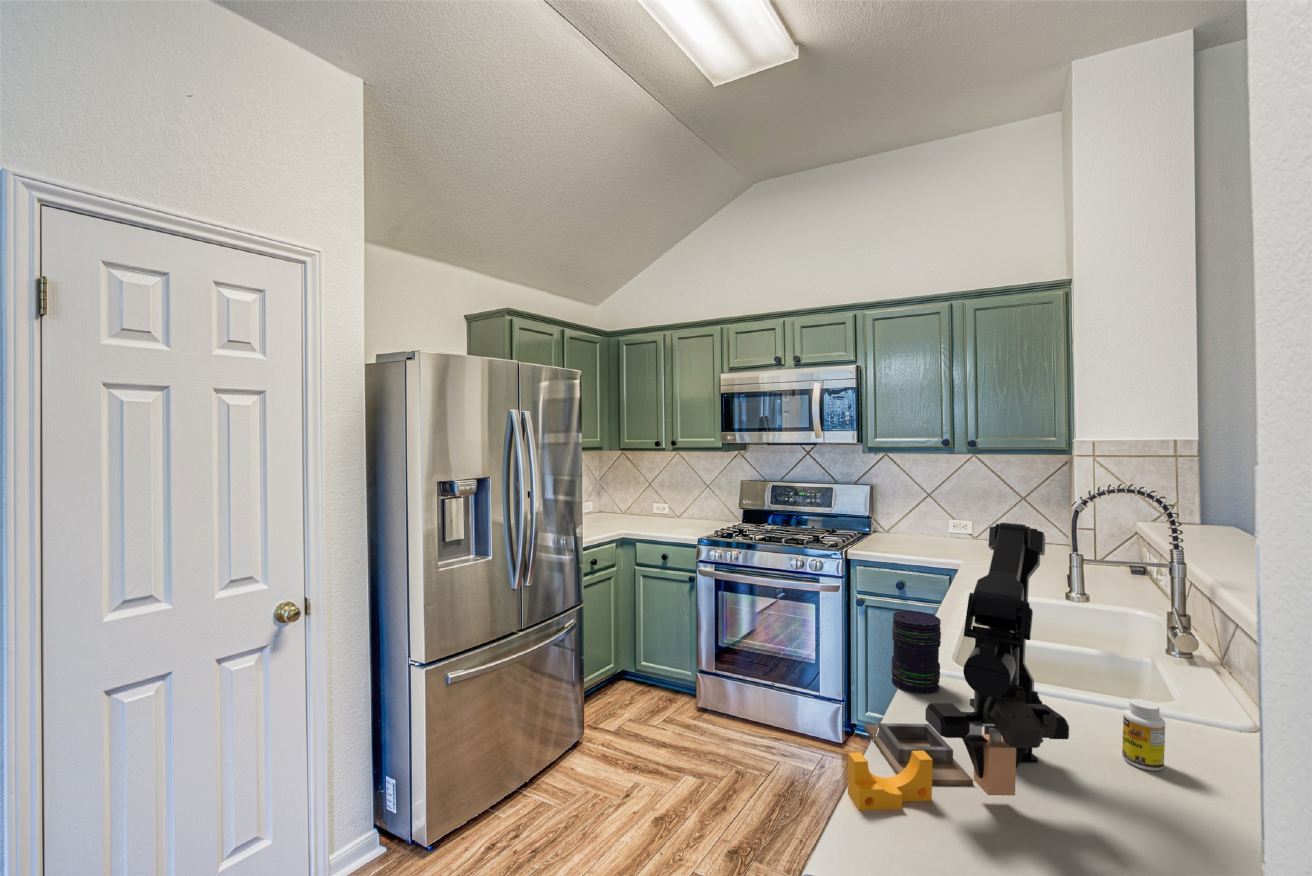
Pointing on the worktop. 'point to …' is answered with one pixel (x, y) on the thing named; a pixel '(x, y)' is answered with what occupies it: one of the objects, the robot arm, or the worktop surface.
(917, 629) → the storage jar
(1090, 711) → the worktop surface
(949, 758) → the end holder
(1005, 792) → the connector
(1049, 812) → the worktop surface
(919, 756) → the pipe clamp
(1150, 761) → the supplement bottle
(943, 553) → the worktop surface
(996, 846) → the worktop surface
